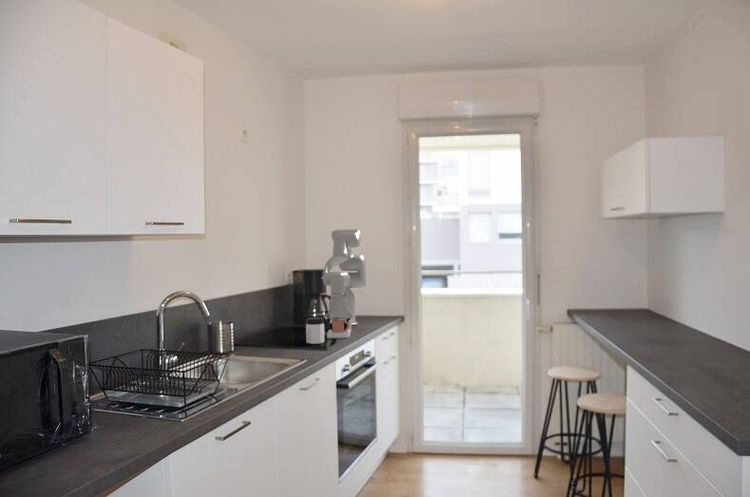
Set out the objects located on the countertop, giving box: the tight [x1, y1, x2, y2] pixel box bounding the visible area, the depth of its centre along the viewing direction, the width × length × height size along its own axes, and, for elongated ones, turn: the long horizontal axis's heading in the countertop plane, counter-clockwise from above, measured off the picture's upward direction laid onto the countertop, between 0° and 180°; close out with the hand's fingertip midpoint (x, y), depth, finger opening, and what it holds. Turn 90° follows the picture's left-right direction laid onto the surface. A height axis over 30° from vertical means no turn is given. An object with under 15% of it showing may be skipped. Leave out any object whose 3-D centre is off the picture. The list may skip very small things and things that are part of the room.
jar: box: [305, 317, 325, 345], centre depth 297 cm, size 9×8×12 cm
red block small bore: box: [331, 319, 345, 333], centre depth 315 cm, size 6×6×6 cm
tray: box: [326, 329, 351, 339], centre depth 315 cm, size 11×11×3 cm
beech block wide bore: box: [346, 320, 352, 333], centre depth 333 cm, size 6×6×6 cm
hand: (338, 330), depth 315 cm, fingers closed on red block small bore, 5 cm apart
